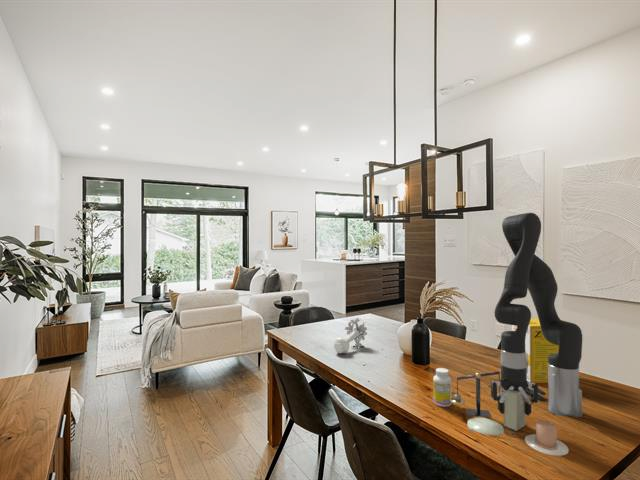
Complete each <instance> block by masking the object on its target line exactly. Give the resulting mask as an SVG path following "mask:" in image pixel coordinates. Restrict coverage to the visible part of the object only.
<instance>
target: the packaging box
mask: <svg viewBox="0 0 640 480" xmlns="http://www.w3.org/2000/svg"><path fill="white" fill-rule="evenodd" d="M516 329H517V326H515V325H511V331H516ZM558 351H559V346H558V345H555V344H553V343H550V342H549V341H547V340H546V339H545V337H544V335H543V333H542V330H541V326H540V322H539V318H538V317H537V318H536V317H535V318H533V317H531V320H530V323H529V326H528V329H527V333H526V338H525V353H526V362H527V381H528V382H530V383H531V382H534V383H535V384H548V356H549V355H550V354H557V353H558Z"/></svg>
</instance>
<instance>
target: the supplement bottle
mask: <svg viewBox="0 0 640 480" xmlns="http://www.w3.org/2000/svg"><path fill="white" fill-rule="evenodd" d="M449 374H450V373H449V369H447V368H444V367H438V368H436V369H435V375H434V376H433V378H432V379H433V380H432V385H433V386H432V387H433V388H432V390H433V392H432V393H433V397H432V399H433V403H434V404H435V405H436V406H438V407H442V408H447V407H450V406H451V405H452V404H453V403H452V402H450V399H451V398H453V397H452V396H453V395H452V378H451V377H450V376H449Z"/></svg>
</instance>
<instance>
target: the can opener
mask: <svg viewBox="0 0 640 480" xmlns="http://www.w3.org/2000/svg"><path fill="white" fill-rule="evenodd" d="M527 383H530V382H528V381H527ZM525 393H526V394H527V395H530V396H531V389H530V388H529V387H528V388H527V389H526V390H525ZM541 395H542V396H541ZM543 396H546V392H545V391H544V390H542V389H541V388H539V387H538V401H542V402H543V401H545V398H544V397H543Z"/></svg>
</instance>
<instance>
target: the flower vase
mask: <svg viewBox="0 0 640 480" xmlns="http://www.w3.org/2000/svg"><path fill="white" fill-rule="evenodd" d="M360 321H361V318H360V319H359V317H356V319H355V320H354V319H350V321H348V322H347V325H348V326H346V327H344V330H345V331H347V332H346V335H347V336H345V337H343V336H341V337H337V338H335V339H334V343H333V349H334V351H335V352H336V353H337V354H342V353H343V355H344V354H346V353H348V352H349V350H350V343H351V342H352V341H354V344H355V345H354V346H355V347H356V348H357V347H360V348H361V347H362V346H364V344H363V343H361V341H365V336H367V335H368V332H367V330H368V328H367V327H366V326H365V322H364V321H363V323H361V324H360V325H359V324H358V323H359V322H360ZM354 326H355V327H354ZM362 344H363V345H362Z"/></svg>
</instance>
